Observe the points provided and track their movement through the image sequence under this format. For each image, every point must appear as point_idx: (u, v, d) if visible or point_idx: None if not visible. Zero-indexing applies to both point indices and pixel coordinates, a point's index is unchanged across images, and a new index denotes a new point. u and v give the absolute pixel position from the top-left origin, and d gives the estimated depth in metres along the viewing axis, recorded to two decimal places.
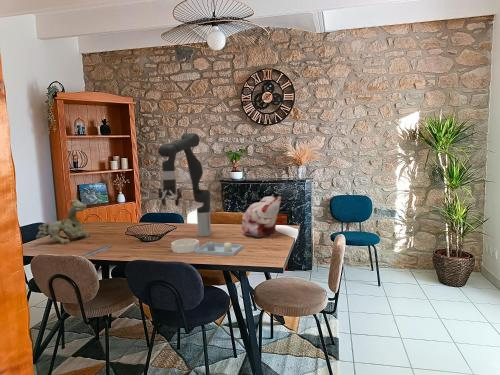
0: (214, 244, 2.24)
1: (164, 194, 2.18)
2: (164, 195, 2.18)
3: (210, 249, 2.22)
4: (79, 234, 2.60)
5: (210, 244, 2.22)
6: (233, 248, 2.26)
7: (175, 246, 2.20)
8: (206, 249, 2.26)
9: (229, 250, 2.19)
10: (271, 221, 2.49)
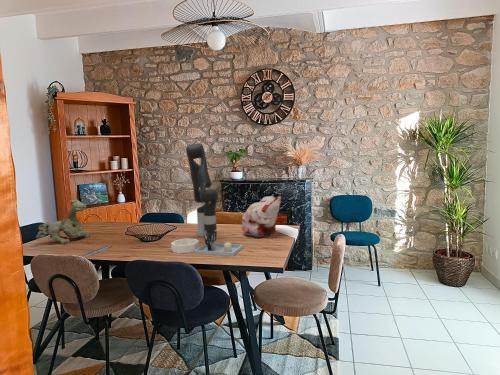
0: (214, 244, 2.24)
1: (212, 238, 2.21)
2: (212, 239, 2.22)
3: None
4: (79, 234, 2.60)
5: None
6: (233, 248, 2.26)
7: (175, 246, 2.20)
8: (206, 249, 2.26)
9: (229, 250, 2.19)
10: (271, 221, 2.49)
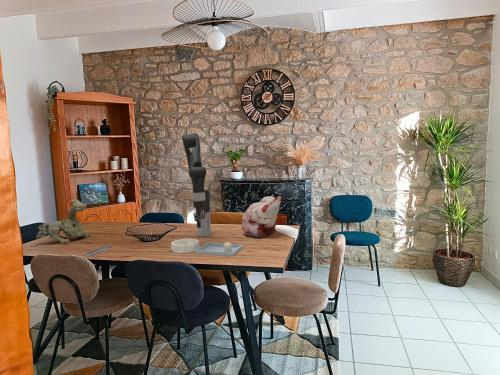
0: (203, 221, 2.25)
1: (201, 215, 2.23)
2: (201, 216, 2.23)
3: None
4: (79, 234, 2.60)
5: None
6: (233, 248, 2.26)
7: (175, 246, 2.20)
8: (206, 249, 2.26)
9: (229, 250, 2.19)
10: (271, 221, 2.49)
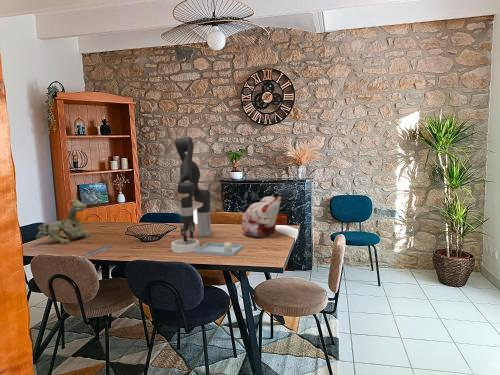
0: (191, 242, 2.29)
1: (188, 230, 2.25)
2: (188, 231, 2.25)
3: None
4: (79, 234, 2.60)
5: (187, 242, 2.27)
6: (233, 248, 2.26)
7: (175, 246, 2.20)
8: (206, 249, 2.26)
9: (229, 250, 2.19)
10: (271, 221, 2.49)
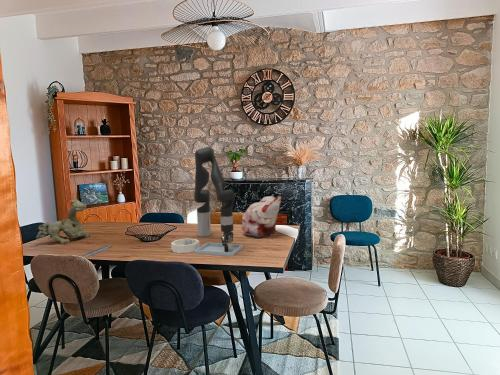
0: (191, 242, 2.29)
1: (229, 239, 2.18)
2: (229, 240, 2.18)
3: None
4: (79, 234, 2.60)
5: (187, 242, 2.27)
6: (233, 248, 2.26)
7: (175, 246, 2.20)
8: (206, 249, 2.26)
9: (229, 250, 2.19)
10: (271, 221, 2.49)
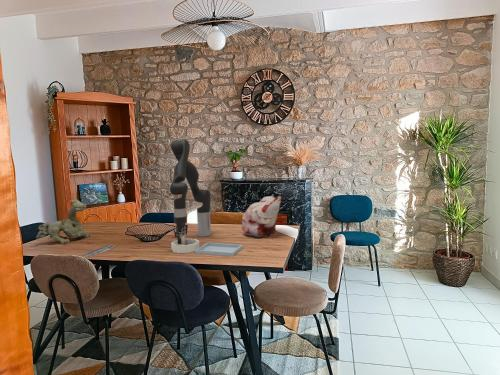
0: (191, 242, 2.29)
1: (182, 232, 2.22)
2: (182, 232, 2.22)
3: None
4: (79, 234, 2.60)
5: (187, 242, 2.27)
6: (233, 248, 2.26)
7: (175, 246, 2.20)
8: (206, 249, 2.26)
9: (182, 242, 2.23)
10: (271, 221, 2.49)
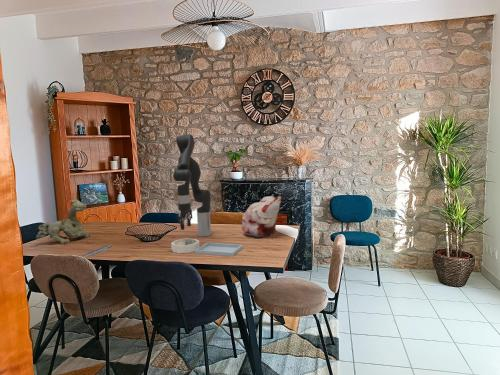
0: (192, 242, 2.29)
1: (185, 218, 2.22)
2: (185, 219, 2.22)
3: None
4: (79, 234, 2.60)
5: (188, 242, 2.27)
6: (233, 248, 2.26)
7: (175, 246, 2.20)
8: (206, 249, 2.26)
9: None
10: (271, 221, 2.49)
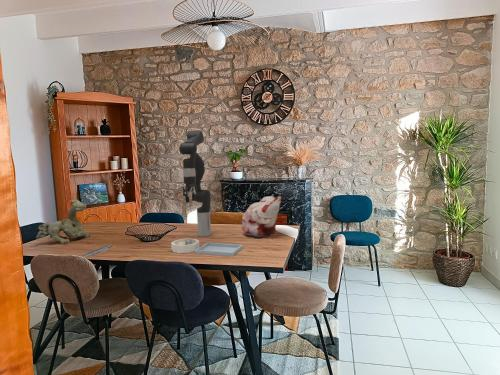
0: (191, 242, 2.29)
1: (190, 191, 2.23)
2: (190, 192, 2.23)
3: None
4: (79, 234, 2.60)
5: (188, 242, 2.27)
6: (233, 248, 2.26)
7: (175, 246, 2.20)
8: (206, 249, 2.26)
9: None
10: (271, 221, 2.49)
